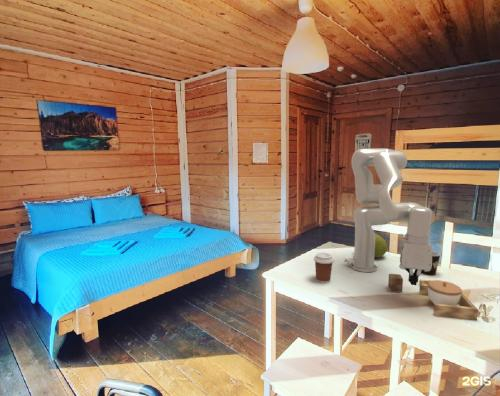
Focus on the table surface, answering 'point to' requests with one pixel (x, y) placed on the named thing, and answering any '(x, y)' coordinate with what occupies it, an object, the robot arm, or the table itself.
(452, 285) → the lidded jar
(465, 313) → the holder
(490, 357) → the table surface
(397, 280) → the walnut block
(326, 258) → the coffee cup
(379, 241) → the fruit
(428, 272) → the coffee mug
